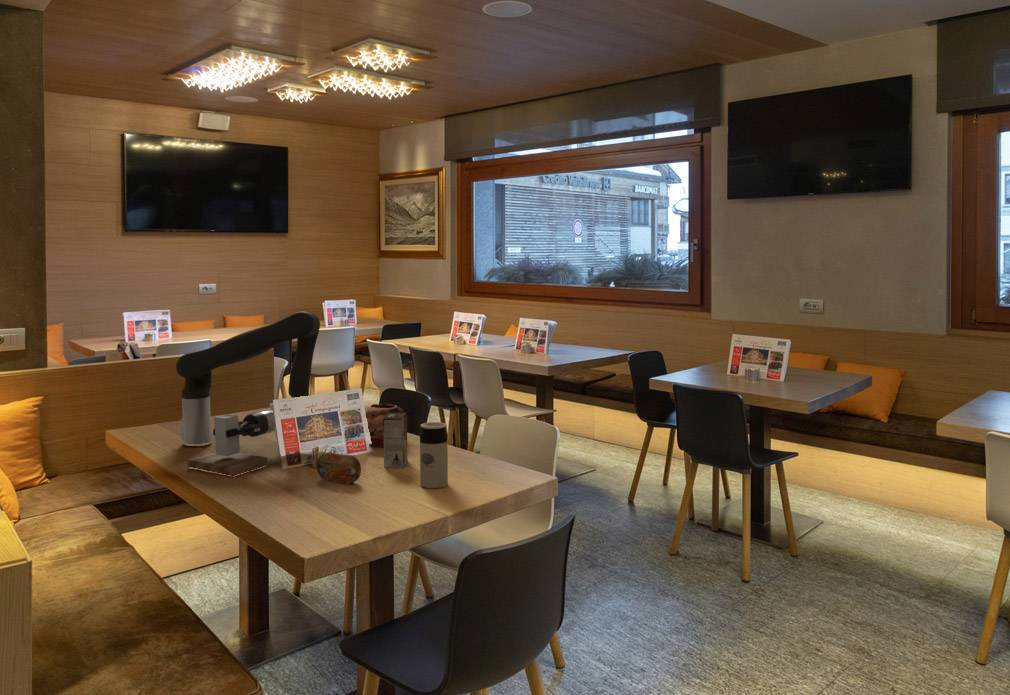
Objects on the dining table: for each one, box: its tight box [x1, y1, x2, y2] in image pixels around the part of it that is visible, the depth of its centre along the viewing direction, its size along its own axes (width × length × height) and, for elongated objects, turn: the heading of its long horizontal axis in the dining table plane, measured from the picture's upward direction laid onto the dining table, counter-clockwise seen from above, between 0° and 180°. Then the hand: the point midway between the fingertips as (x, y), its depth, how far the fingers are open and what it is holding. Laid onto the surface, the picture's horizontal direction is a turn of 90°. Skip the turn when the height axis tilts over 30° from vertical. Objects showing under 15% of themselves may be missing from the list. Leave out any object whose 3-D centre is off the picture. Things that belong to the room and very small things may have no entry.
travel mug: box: [419, 421, 449, 490], centre depth 225 cm, size 8×8×18 cm
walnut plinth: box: [187, 451, 269, 476], centre depth 245 cm, size 20×14×3 cm
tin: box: [316, 452, 362, 485], centre depth 229 cm, size 15×3×8 cm, turn 62°
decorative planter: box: [365, 403, 405, 448], centre depth 277 cm, size 20×12×14 cm, turn 152°
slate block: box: [213, 413, 241, 456], centre depth 244 cm, size 5×5×12 cm
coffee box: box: [383, 412, 408, 469], centre depth 249 cm, size 9×6×16 cm
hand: (220, 433), depth 241 cm, fingers closed on slate block, 5 cm apart
